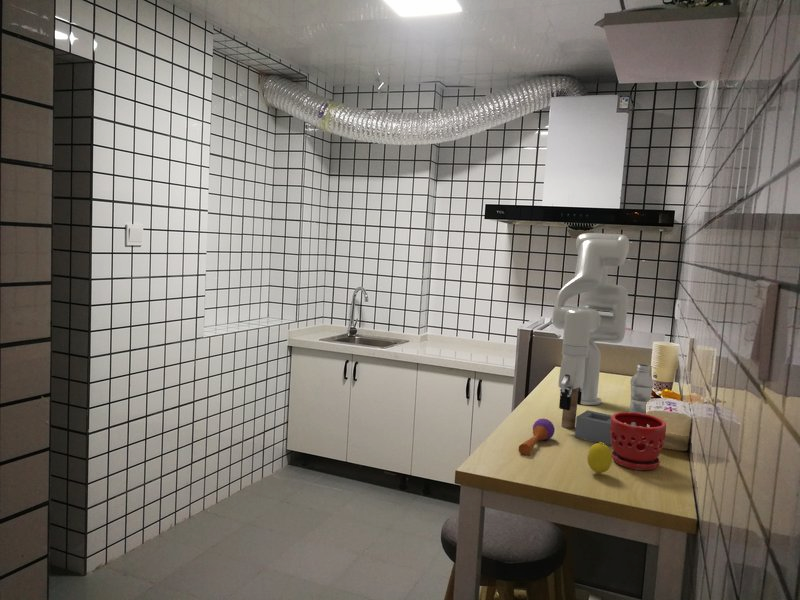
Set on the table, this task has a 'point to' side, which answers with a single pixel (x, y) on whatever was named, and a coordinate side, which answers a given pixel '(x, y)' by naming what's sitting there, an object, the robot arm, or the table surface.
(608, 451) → the lemon
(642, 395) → the plastic bottle
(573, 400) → the peg
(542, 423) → the purple maraca
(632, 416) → the plant pot
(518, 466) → the table surface
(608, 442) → the socket
